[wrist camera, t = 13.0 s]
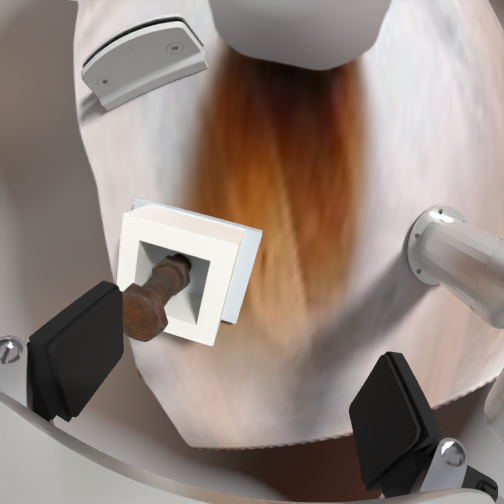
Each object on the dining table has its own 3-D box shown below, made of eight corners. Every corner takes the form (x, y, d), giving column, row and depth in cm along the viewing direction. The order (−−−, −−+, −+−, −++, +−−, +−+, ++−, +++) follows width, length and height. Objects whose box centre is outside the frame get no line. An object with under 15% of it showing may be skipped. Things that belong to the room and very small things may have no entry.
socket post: (262, 230, 37) (260, 248, 29) (237, 318, 41) (229, 352, 33) (139, 198, 36) (108, 207, 28) (128, 284, 41) (101, 309, 32)
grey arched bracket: (106, 112, 33) (65, 81, 23) (107, 90, 33) (70, 59, 23) (210, 67, 30) (187, 18, 21) (205, 47, 31) (183, 0, 21)
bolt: (178, 288, 38) (135, 350, 24) (156, 260, 37) (100, 311, 23) (208, 265, 37) (174, 324, 23) (184, 236, 36) (135, 280, 22)
